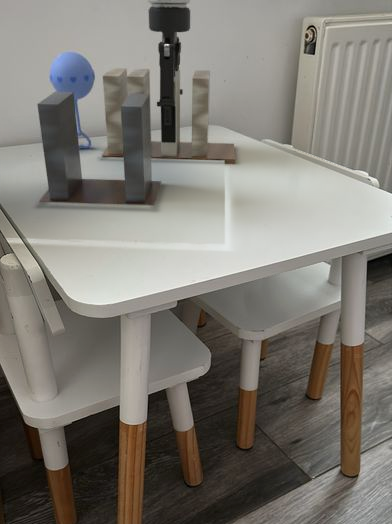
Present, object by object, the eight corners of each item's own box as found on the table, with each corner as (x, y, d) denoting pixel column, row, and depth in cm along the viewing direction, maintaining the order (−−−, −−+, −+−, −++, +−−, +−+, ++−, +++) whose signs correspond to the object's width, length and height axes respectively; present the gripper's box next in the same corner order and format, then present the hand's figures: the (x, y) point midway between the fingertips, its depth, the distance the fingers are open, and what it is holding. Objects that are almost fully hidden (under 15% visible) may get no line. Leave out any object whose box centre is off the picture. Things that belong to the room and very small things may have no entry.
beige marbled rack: (102, 160, 110) (96, 76, 101) (112, 144, 119) (107, 67, 111) (234, 164, 109) (239, 80, 100) (233, 148, 119) (237, 70, 110)
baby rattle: (59, 155, 112) (46, 55, 102) (57, 144, 119) (46, 49, 109) (102, 153, 114) (94, 54, 103) (98, 143, 120) (90, 49, 110)
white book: (161, 155, 110) (160, 77, 102) (165, 142, 118) (165, 69, 110) (176, 156, 109) (176, 77, 102) (180, 143, 118) (180, 69, 110)
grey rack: (39, 207, 87) (24, 105, 79) (58, 183, 97) (47, 90, 89) (154, 211, 87) (151, 108, 78) (161, 186, 97) (159, 93, 88)
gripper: (186, 9, 90) (186, 150, 103) (193, 3, 109) (192, 123, 121) (140, 8, 90) (145, 149, 103) (155, 2, 109) (157, 122, 122)
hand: (170, 135), depth 112 cm, fingers closed on white book, 10 cm apart
